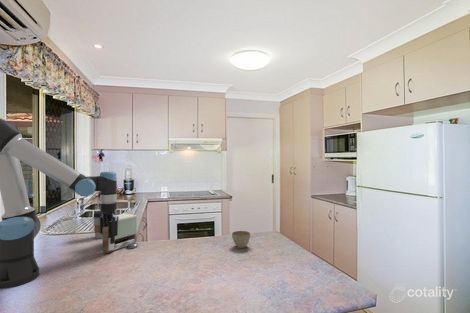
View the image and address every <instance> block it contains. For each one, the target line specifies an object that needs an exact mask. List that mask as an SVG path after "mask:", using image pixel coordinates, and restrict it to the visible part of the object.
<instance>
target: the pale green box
mask: <svg viewBox="0 0 470 313" xmlns="http://www.w3.org/2000/svg"><path fill="white" fill-rule="evenodd" d="M115 216H118V217H119V218H118V235H117V236H115V243H117V242H119V241H124V240H126V241H129V240H132V239H135V243H137V217H138V216H137V215H136V214H131V213H128V212H127V213H125V212H124V213H120V214H115ZM110 222H111V221H110Z"/></svg>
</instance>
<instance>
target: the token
mask: <svg viewBox="0 0 470 313" xmlns="http://www.w3.org/2000/svg"><path fill="white" fill-rule="evenodd" d="M138 248H139V244H138V243H137V242H135V243H131V244H128V246H127V249H129V250H132V249H133V250H134V249H138Z"/></svg>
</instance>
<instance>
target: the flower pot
mask: <svg viewBox="0 0 470 313" xmlns="http://www.w3.org/2000/svg"><path fill="white" fill-rule="evenodd" d="M231 237H232V241H233V243H234V245H235V246H236V247H237V248H238V249H244V248H246V247H247V246H248V245H249V242H250V238H251V232H250V231H246V230H235V231H233V232H232V233H231Z"/></svg>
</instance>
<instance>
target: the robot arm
mask: <svg viewBox="0 0 470 313" xmlns="http://www.w3.org/2000/svg"><path fill="white" fill-rule="evenodd" d="M21 162H22V163H25V164H26V165H28V166H30V168H31V167H32V168H33V169H35V170H37V171H39V172H41V173H42V174H44V175H46V176H47V177H48V178H51V179H53V180H55V181H57V182H58V183H60V184H61V185H63V186H65V187H67V188H68V189H69V190H71V192H73V193H74V194H75V193H76V194H77V195H78V196H80V197H83V198H84V197H89V196H91V195H93V194H94V193H95V192H100V193H99V202H100V204H99V209H100V210H99V211H103V212H102V214H99V218H100V233H102V235H103V227H108V228H109V237H108V251H110V250H113V249H114V237H115V236H117V235H118V218H119V217H118V216H115V215H116V213H115V211H116V210H117V208H118V207H117V206H118V203H117V200H118V199H117V196H118V195H117V193H118V191H117V190H118V189H117V188H118V186H117V184H118V179H117V177H118V176H117V173H116V172H115V171H101V172H100V173H99V175H98V176H96V175H95V176H86V175H84V174H82V173H81V172H79V171H77V170H75V169H74V168H72V167H71V166H69V165H67V164H66V163H65V162H62V161H61V160H59V159H58V158H56V157H55V156H53V155H51V154H49V153H48V152H46V150H43V149H41V148H40V147H38V146H36V145H35V144H33V143H32V142H30V141H29V140H27V139H25V138H24V137H23V134H22V133H21V131H20V129H19V128H18V127H17V125H15V123H13V122H11V121H8V120H6V119H3V118H1V117H0V196H1V200H2V205H3V210H4V213H3V214H2V215H1V217H0V218H1V221H0V290H1V289H9V288H14V287H18V286H21V285H24V284H27V283H29V282H32V281H34V280H35V279H37V278H38V277H39V276H40V267H39V265H38V262H37V260H36V257H35V242H34V241H35V238H36V236H38V234H39V232H40V230H41V224H42V223H41V221H40V219H39V217H38V215H37V211H36V208H35V207H32V206H31V205H30V200H29V197H28V196H29V195H28V190H27V186H26V182H25V178H24V174H23V168H22V164H21ZM110 221H111V222H110Z"/></svg>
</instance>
